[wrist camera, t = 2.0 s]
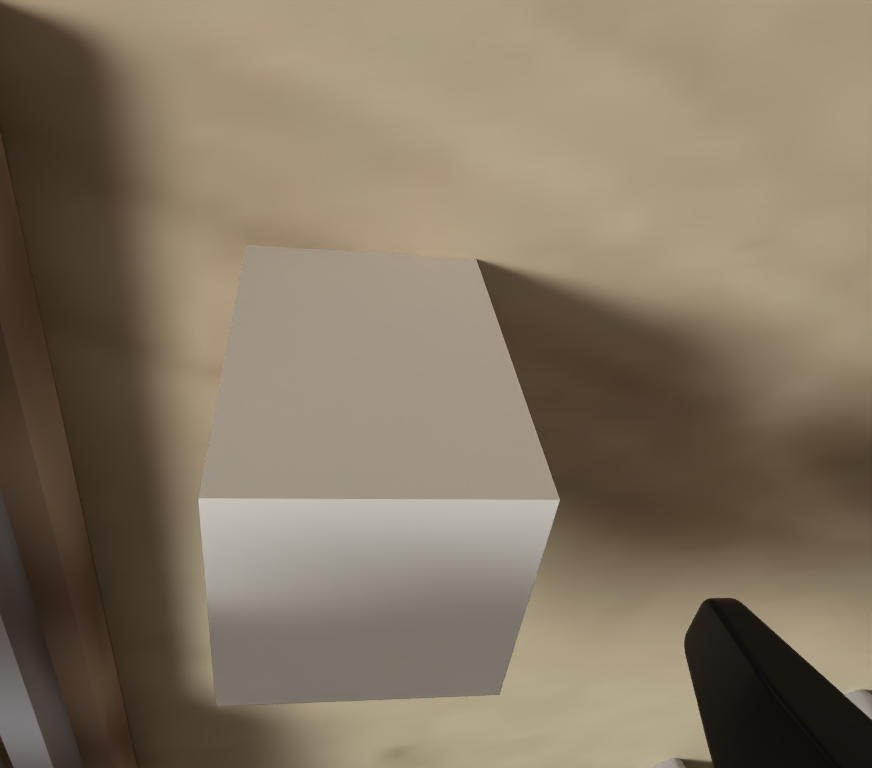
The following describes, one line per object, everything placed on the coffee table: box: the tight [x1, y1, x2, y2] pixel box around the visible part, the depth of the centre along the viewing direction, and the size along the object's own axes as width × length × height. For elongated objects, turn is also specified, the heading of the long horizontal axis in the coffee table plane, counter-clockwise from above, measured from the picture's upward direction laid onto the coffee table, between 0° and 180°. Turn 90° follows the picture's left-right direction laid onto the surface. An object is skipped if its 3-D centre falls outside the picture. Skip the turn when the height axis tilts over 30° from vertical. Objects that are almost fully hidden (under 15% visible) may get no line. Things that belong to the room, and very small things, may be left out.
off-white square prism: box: [198, 245, 560, 706], centre depth 12 cm, size 4×4×6 cm
